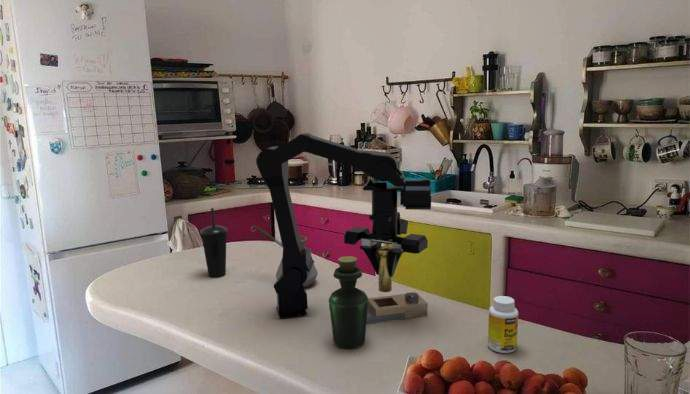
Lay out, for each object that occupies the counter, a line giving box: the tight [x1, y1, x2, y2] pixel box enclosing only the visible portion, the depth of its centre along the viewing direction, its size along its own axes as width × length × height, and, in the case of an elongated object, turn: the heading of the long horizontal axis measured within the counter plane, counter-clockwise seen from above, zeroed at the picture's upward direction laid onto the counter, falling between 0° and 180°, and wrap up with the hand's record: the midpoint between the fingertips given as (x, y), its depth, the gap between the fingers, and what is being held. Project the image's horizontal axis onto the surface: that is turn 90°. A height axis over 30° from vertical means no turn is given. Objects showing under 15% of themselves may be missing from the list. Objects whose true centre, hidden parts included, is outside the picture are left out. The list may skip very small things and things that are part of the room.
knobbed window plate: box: [366, 291, 429, 325], centre depth 117 cm, size 18×7×4 cm, turn 104°
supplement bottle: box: [487, 295, 519, 354], centre depth 100 cm, size 6×6×10 cm
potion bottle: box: [328, 255, 369, 350], centre depth 103 cm, size 8×8×18 cm
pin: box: [376, 245, 393, 293], centre depth 115 cm, size 4×4×10 cm
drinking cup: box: [199, 207, 228, 279], centre depth 145 cm, size 8×8×20 cm
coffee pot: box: [249, 224, 319, 289], centre depth 140 cm, size 21×12×15 cm, turn 57°
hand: (384, 275), depth 116 cm, fingers closed on pin, 3 cm apart
